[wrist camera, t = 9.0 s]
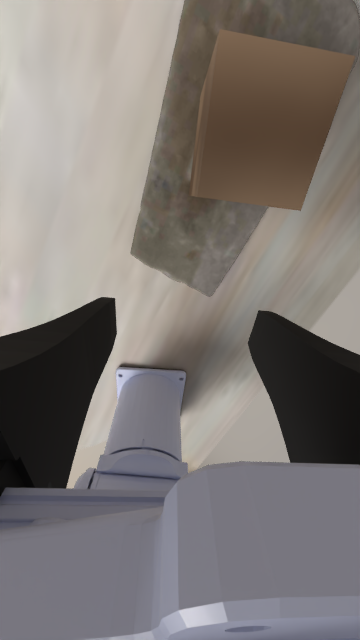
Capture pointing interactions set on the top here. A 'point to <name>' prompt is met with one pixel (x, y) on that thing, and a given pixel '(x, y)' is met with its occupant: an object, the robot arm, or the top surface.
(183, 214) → the stone
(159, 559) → the robot arm
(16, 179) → the top surface
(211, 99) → the walnut block
